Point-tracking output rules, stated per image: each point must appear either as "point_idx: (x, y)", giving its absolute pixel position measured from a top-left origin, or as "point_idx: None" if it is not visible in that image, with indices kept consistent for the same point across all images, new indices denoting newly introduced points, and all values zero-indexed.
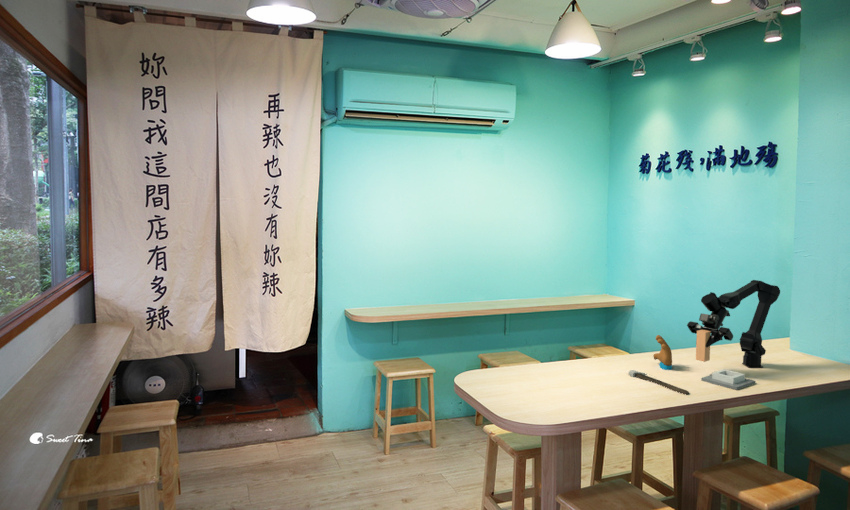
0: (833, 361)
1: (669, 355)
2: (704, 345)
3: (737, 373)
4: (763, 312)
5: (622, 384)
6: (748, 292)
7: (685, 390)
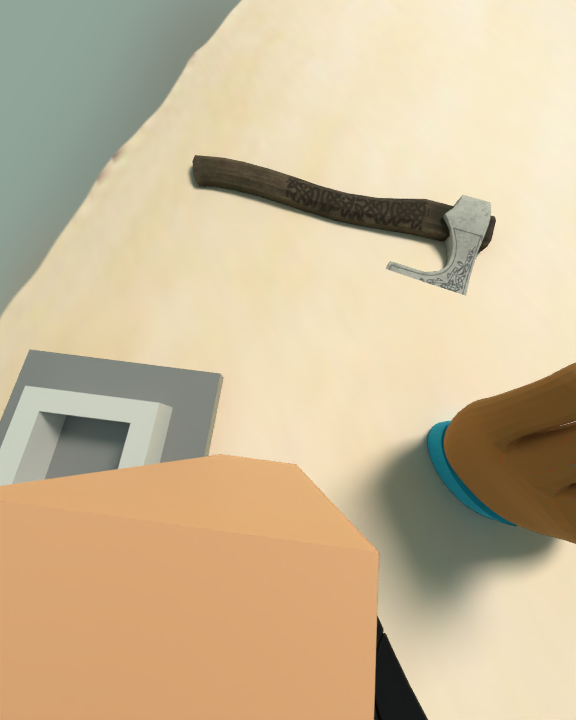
0: None
1: (482, 409)
2: (180, 460)
3: None
4: None
5: (411, 121)
6: None
7: (205, 167)
